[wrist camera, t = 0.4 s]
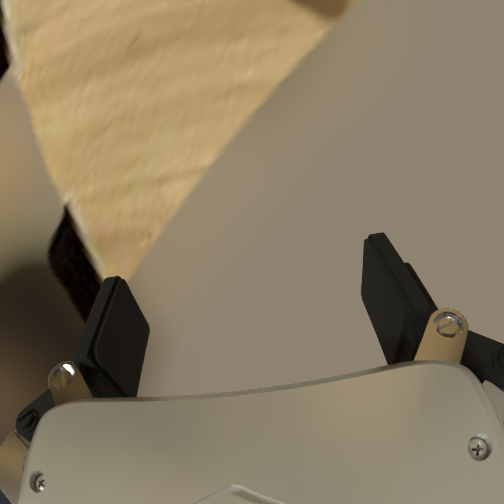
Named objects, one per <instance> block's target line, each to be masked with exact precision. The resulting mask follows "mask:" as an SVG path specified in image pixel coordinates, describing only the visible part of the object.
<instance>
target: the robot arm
mask: <svg viewBox="0 0 504 504" xmlns="http://www.w3.org/2000/svg"><path fill="white" fill-rule="evenodd" d="M361 296H362V300H363V303H364V305H365V307H366V310H367V312H368V315H369V317H370V320H371V322H372V325H373V327H374V330H375V332H376V335H377V337H378V340H379V342H380V345H381V348H382V350H383V353H384V355H385V358H386V361H387V363H388V365H386V366H382V367H377V368H373V369H368V370H363V371H358V372H353V373H349V374H343V375H338V376H333V377H328V378H323V379H317V380H312V381H306V382H300V383H293V384H287V385H281V386H273V387H266V388H258V389H250V390H241V391H232V392H221V393H210V394H197V395H182V396H161V397H137V392H138V386H139V381H140V376H141V371H142V365H143V361H144V356H145V351H146V346H147V341H148V337H149V332H150V329H149V325H148V323H147V321H146V319H145V317H144V315H143V313H142V312H141V310H140V308H139V306H138V304H137V302H136V300H135V299H134V296H133V295H132V293H131V291H130V289H129V287H128V285H127V283H126V281H125V280H124V279H121V277H119V276H115V277H109V278H105V280H104V282H103V284H102V286H101V288H100V291H99V293H98V295H97V298H96V300H95V303H94V305H93V307H92V310H91V312H90V315H89V317H88V320H87V322H86V325H85V327H84V330H83V333H82V335H81V338H80V340H79V343H78V345H77V348H76V351H75V354H74V357H75V359H74V362H69V361H66V362H62V363H61V364H59V365H57V366H56V367H55V368H54V369H53V371H52V372H51V373H50V376H49V380H48V384H49V388H50V389H48V390H47V391H46V392H44V393H43V394H42V395H41V396H39V397H38V398H37V399H36V400H34V401H33V402H32V403H31V404H29V405H28V406H27V407H25V408H24V409H23V410H22V411H21V412H20V413H19V415H18V417H17V420H16V430H17V431H16V432H14V431H12V432H11V433H10V435H9V436H8V437H7V439H6V440H5V441H4V443H3V444H2V445H1V447H0V489H1V490H2V492H3V493H4V494H5V496H6V497H7V498H8V499H9V501H10V502H11V503H12V504H504V430H503V427H502V424H501V422H500V420H499V418H500V419H501V421H502V422H503V424H504V344H502V343H500V342H497V341H495V340H492V339H490V338H487V337H485V336H482V335H479V334H477V333H474V332H472V331H469V330H468V323H467V320H466V319H465V317H464V316H463V315H462V314H461V313H459V312H458V311H455V310H453V309H448V308H446V309H445V308H444V309H439V310H438V308H437V306H436V305H435V303H434V301H433V300H432V298H431V296H430V295H429V293H428V292H427V290H426V289H425V287H424V285H423V284H422V282H421V280H420V279H419V277H418V276H417V274H416V272H415V271H414V269H413V268H412V267H411V265H410V264H409V263H404V262H403V261H402V259H401V257H400V256H399V254H398V253H397V251H396V250H395V249H394V247H393V245H392V244H391V242H390V241H389V239H388V238H387V237H386V235H385V234H384V233H376V234H370V235H369V236H368V239H365V240H364V252H363V271H362V286H361Z"/></svg>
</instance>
